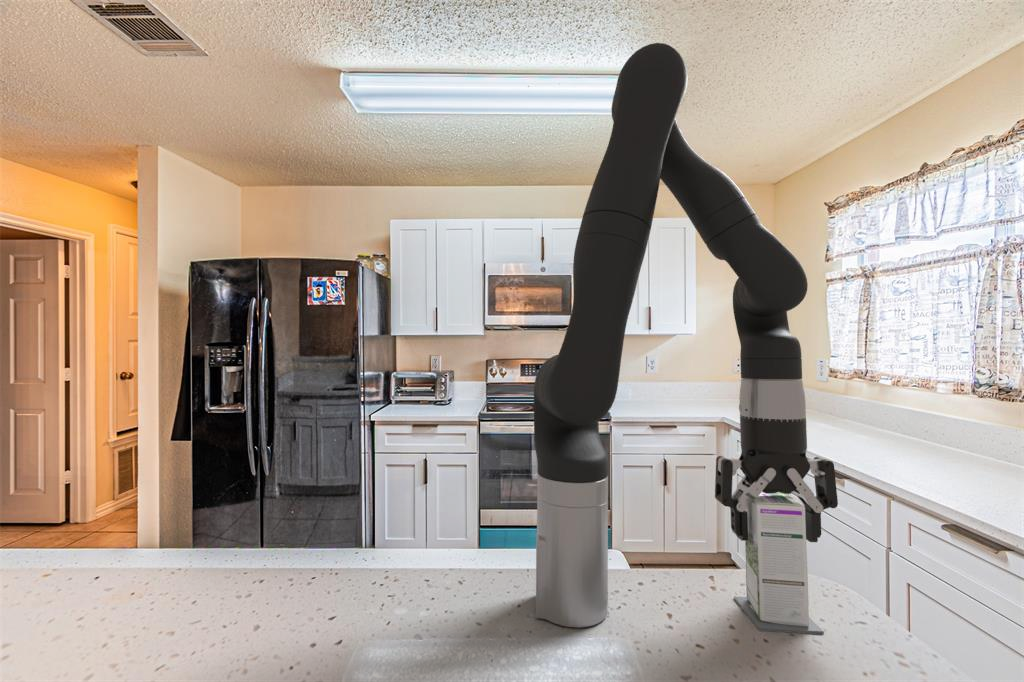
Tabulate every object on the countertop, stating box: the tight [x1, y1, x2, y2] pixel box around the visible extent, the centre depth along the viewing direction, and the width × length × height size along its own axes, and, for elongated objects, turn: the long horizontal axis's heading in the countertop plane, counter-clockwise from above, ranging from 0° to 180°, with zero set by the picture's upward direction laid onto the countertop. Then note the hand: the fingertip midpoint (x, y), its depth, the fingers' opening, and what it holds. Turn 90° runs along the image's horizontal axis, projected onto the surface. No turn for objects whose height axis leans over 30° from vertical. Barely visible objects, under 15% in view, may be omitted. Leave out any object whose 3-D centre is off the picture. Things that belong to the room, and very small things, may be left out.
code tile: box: [733, 595, 825, 635], centre depth 58 cm, size 7×7×1 cm
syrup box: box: [744, 492, 810, 627], centre depth 58 cm, size 6×6×14 cm
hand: (775, 539), depth 58 cm, fingers open, 8 cm apart
